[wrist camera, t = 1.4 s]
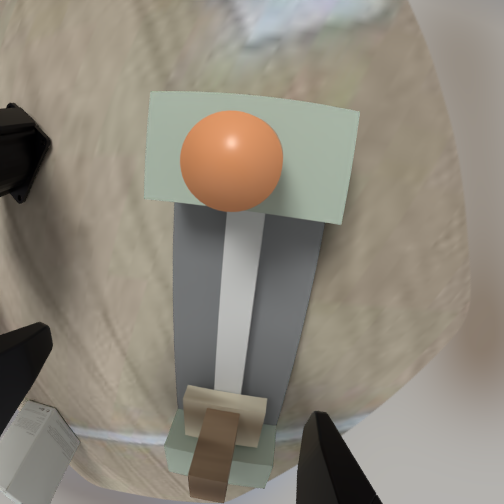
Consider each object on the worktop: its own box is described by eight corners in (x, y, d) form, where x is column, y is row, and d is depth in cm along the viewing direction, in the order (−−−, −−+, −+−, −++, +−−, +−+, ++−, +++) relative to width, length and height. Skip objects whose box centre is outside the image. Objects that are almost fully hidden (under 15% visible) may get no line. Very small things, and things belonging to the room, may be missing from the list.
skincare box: (28, 398, 33) (-24, 470, 19) (58, 407, 32) (4, 490, 18) (54, 434, 36) (12, 503, 22) (84, 444, 35) (43, 521, 21)
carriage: (258, 434, 24) (248, 509, 17) (189, 421, 24) (166, 492, 17) (267, 398, 22) (257, 483, 15) (188, 384, 22) (158, 464, 15)
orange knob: (278, 193, 14) (275, 218, 10) (206, 184, 14) (177, 205, 10) (288, 120, 12) (288, 116, 9) (213, 113, 13) (183, 107, 9)
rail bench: (269, 441, 29) (264, 488, 23) (183, 426, 29) (169, 471, 24) (337, 116, 17) (359, 111, 12) (189, 100, 18) (150, 91, 12)
